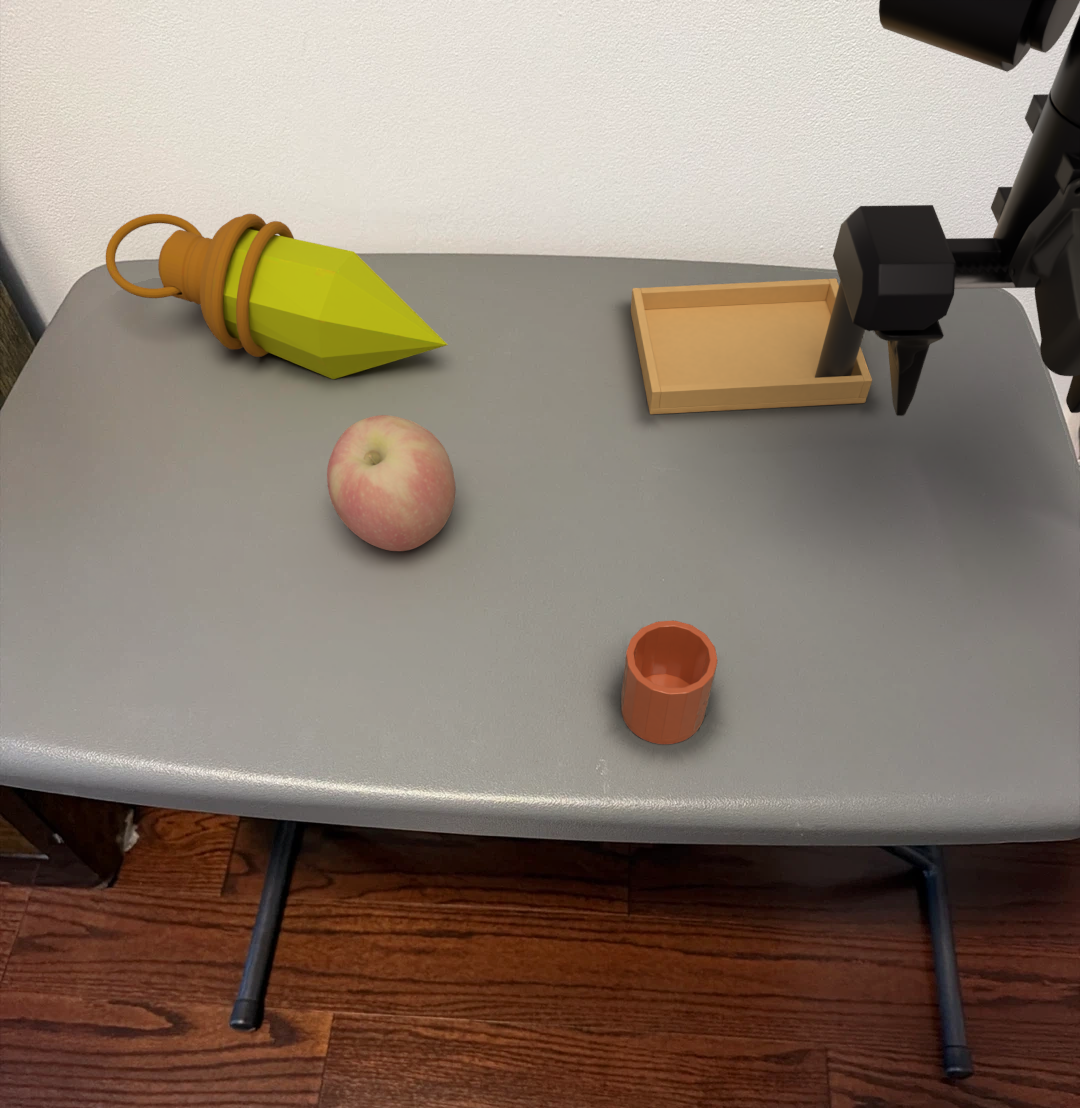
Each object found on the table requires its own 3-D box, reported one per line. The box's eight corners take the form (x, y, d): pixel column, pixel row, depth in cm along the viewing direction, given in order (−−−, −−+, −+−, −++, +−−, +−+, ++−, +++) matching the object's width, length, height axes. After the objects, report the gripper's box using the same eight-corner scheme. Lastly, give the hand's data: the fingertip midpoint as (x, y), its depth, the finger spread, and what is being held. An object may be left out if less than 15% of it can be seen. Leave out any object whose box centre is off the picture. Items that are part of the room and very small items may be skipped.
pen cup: (697, 672, 63) (709, 617, 59) (710, 741, 61) (723, 690, 56) (616, 677, 63) (622, 623, 59) (626, 747, 61) (632, 696, 56)
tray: (830, 301, 81) (836, 277, 80) (865, 403, 76) (872, 380, 74) (630, 311, 81) (632, 287, 79) (649, 414, 75) (652, 392, 73)
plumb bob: (469, 333, 80) (154, 239, 81) (468, 246, 72) (115, 142, 73) (429, 434, 78) (104, 336, 79) (423, 356, 69) (57, 247, 70)
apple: (329, 498, 71) (307, 403, 64) (443, 475, 72) (433, 379, 65) (352, 589, 67) (330, 498, 60) (472, 563, 68) (464, 470, 61)
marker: (845, 368, 77) (891, 210, 67) (853, 392, 75) (902, 236, 65) (809, 369, 77) (850, 212, 66) (817, 394, 75) (859, 238, 65)
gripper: (939, 226, 39) (836, 526, 52) (1446, 220, 39) (1217, 519, 52) (877, 68, 45) (798, 373, 58) (1316, 64, 45) (1140, 367, 59)
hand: (984, 409), depth 57 cm, fingers open, 9 cm apart
